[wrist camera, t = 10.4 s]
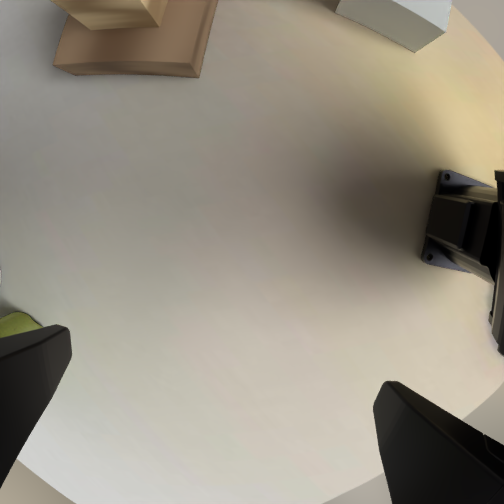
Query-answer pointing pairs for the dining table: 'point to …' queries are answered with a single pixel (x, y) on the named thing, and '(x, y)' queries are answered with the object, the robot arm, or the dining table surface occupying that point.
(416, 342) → the dining table surface
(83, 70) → the walnut block
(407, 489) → the robot arm
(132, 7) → the oak block
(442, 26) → the grey block
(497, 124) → the dining table surface
